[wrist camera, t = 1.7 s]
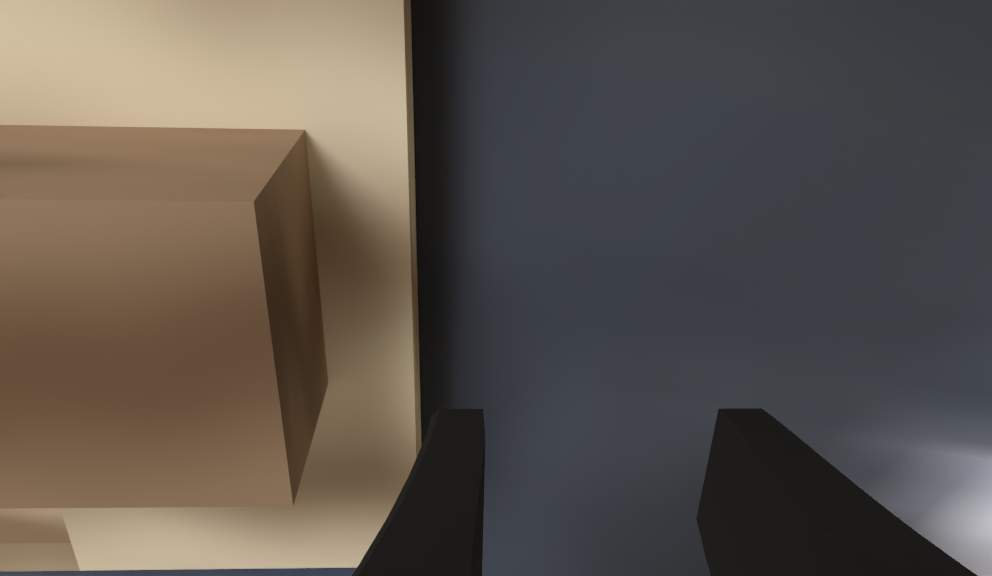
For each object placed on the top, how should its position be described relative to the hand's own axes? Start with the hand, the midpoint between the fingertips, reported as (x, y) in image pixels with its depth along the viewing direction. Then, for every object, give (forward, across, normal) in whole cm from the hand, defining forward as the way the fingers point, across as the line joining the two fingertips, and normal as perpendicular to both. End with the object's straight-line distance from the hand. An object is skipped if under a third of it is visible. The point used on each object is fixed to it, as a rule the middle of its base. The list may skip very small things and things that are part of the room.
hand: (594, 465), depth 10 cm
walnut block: (+6, +8, 0) cm, 10 cm away
